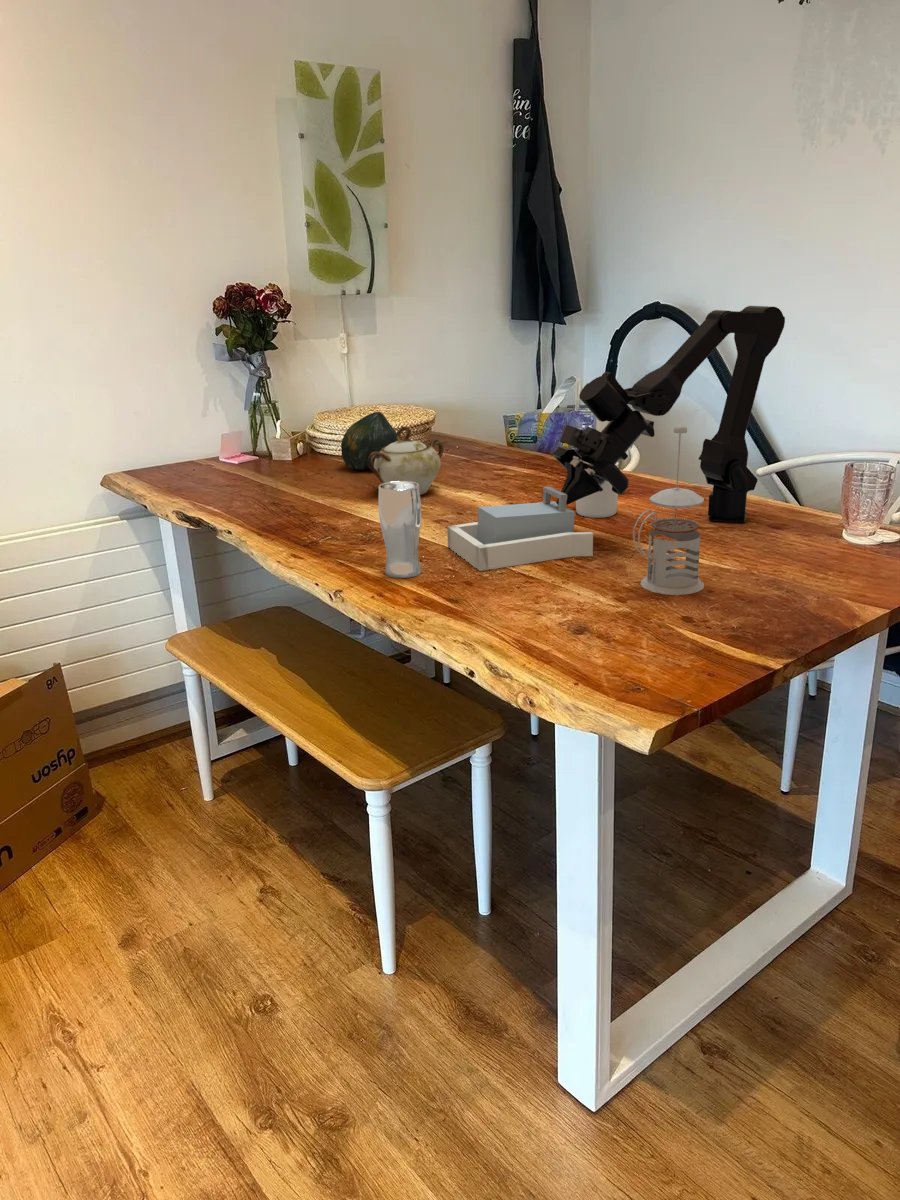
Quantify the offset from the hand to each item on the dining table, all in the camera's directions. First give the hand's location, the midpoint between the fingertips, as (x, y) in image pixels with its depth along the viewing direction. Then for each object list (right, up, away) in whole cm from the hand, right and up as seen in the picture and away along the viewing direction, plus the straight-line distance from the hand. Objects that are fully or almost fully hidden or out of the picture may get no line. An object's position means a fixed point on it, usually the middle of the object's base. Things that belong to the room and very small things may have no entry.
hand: (558, 505), depth 161 cm
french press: (+15, -15, -19) cm, 28 cm away
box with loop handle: (-6, -7, 0) cm, 10 cm away
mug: (+9, +1, +23) cm, 25 cm away
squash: (-39, +17, +70) cm, 82 cm away
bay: (-7, -8, 0) cm, 11 cm away
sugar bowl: (-29, +7, +44) cm, 53 cm away
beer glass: (-27, -12, -9) cm, 31 cm away
